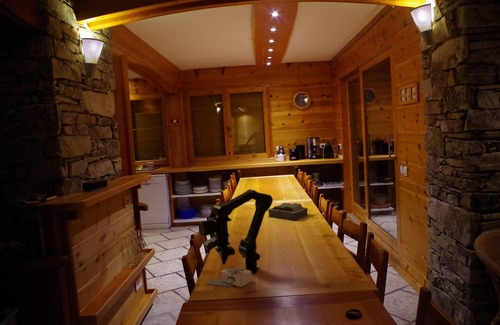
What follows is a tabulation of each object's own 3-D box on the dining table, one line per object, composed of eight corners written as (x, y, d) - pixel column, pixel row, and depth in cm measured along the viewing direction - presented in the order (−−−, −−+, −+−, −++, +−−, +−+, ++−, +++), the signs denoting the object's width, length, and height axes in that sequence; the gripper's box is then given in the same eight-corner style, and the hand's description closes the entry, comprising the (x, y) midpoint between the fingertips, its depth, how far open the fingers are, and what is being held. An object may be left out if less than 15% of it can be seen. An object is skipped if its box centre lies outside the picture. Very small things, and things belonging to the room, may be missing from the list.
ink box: (232, 265, 167) (252, 270, 159) (232, 275, 167) (252, 280, 160) (220, 270, 160) (240, 276, 153) (220, 281, 160) (240, 287, 153)
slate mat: (211, 279, 164) (211, 278, 164) (237, 281, 160) (237, 281, 160) (206, 284, 158) (206, 284, 158) (233, 287, 155) (233, 286, 155)
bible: (290, 223, 250) (289, 209, 249) (265, 216, 271) (264, 204, 270) (311, 216, 264) (311, 204, 263) (286, 211, 285) (285, 199, 284)
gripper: (200, 229, 166) (202, 260, 168) (209, 240, 149) (212, 275, 150) (222, 225, 170) (224, 256, 172) (234, 236, 153) (236, 270, 154)
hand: (223, 264), depth 162 cm, fingers closed
